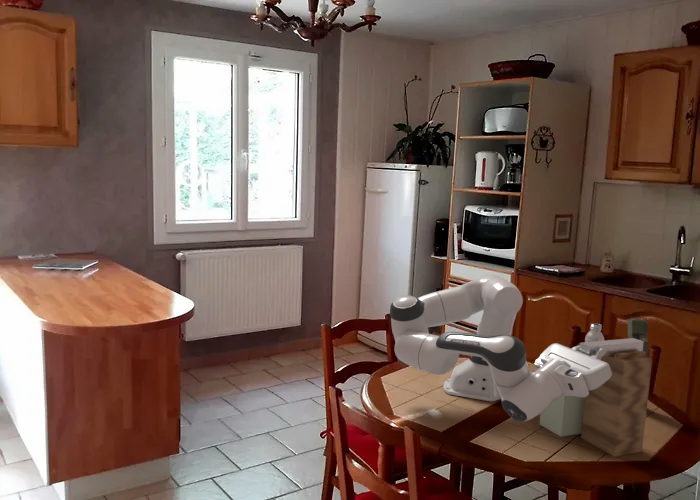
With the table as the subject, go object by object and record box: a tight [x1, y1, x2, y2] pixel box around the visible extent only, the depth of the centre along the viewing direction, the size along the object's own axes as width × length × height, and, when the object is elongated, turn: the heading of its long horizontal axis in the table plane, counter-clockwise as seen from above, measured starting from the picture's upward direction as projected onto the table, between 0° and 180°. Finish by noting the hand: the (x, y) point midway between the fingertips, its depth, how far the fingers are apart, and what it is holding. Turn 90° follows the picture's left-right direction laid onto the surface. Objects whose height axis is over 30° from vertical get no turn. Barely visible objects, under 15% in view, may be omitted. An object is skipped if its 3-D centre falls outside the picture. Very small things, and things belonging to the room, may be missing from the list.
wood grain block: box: [580, 351, 653, 458], centre depth 172 cm, size 10×12×27 cm
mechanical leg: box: [626, 317, 649, 358], centre depth 202 cm, size 14×7×30 cm, turn 169°
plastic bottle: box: [584, 322, 605, 342], centre depth 230 cm, size 6×7×20 cm
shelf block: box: [539, 395, 585, 437], centre depth 183 cm, size 12×9×16 cm
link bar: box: [579, 337, 644, 356], centre depth 168 cm, size 19×4×3 cm, turn 113°
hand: (595, 347), depth 166 cm, fingers closed on link bar, 3 cm apart
